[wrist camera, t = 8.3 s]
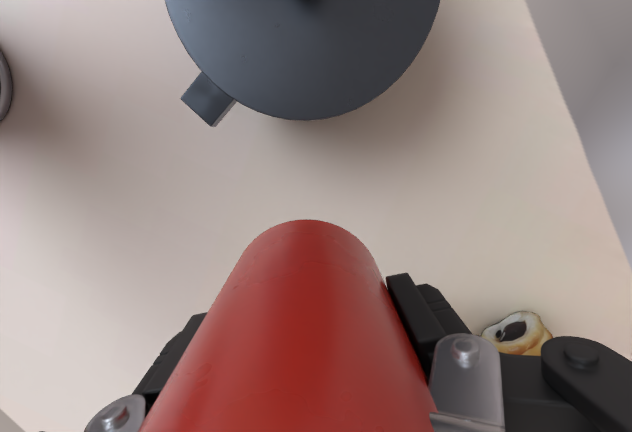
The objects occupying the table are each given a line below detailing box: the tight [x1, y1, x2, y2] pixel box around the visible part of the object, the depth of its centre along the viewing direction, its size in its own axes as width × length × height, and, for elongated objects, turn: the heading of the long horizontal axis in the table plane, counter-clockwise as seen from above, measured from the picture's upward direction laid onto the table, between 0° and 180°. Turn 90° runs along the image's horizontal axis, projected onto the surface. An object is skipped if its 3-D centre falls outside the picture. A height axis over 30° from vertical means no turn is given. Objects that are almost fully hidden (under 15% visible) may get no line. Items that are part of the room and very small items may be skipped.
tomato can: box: [137, 220, 439, 432], centre depth 8 cm, size 6×6×10 cm
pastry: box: [481, 311, 553, 356], centre depth 32 cm, size 9×7×4 cm
